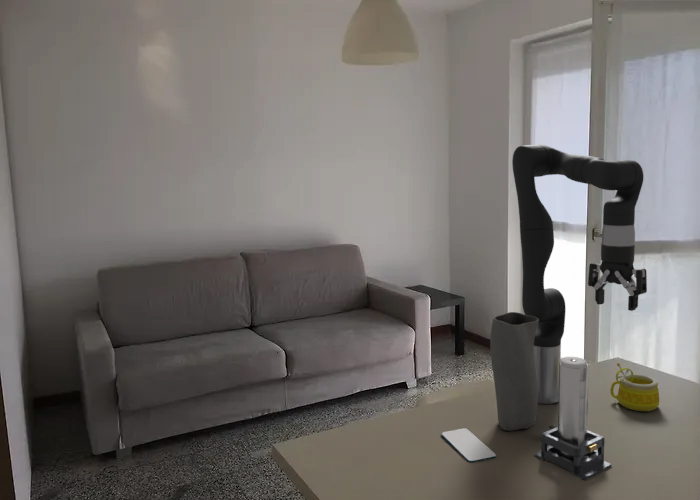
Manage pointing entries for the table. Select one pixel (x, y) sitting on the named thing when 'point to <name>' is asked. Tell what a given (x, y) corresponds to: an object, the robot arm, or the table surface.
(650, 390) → the mug
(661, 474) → the table surface
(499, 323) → the vase
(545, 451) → the collar bracket
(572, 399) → the silver metal cylinder
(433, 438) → the table surface
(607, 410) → the table surface
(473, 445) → the smartphone
